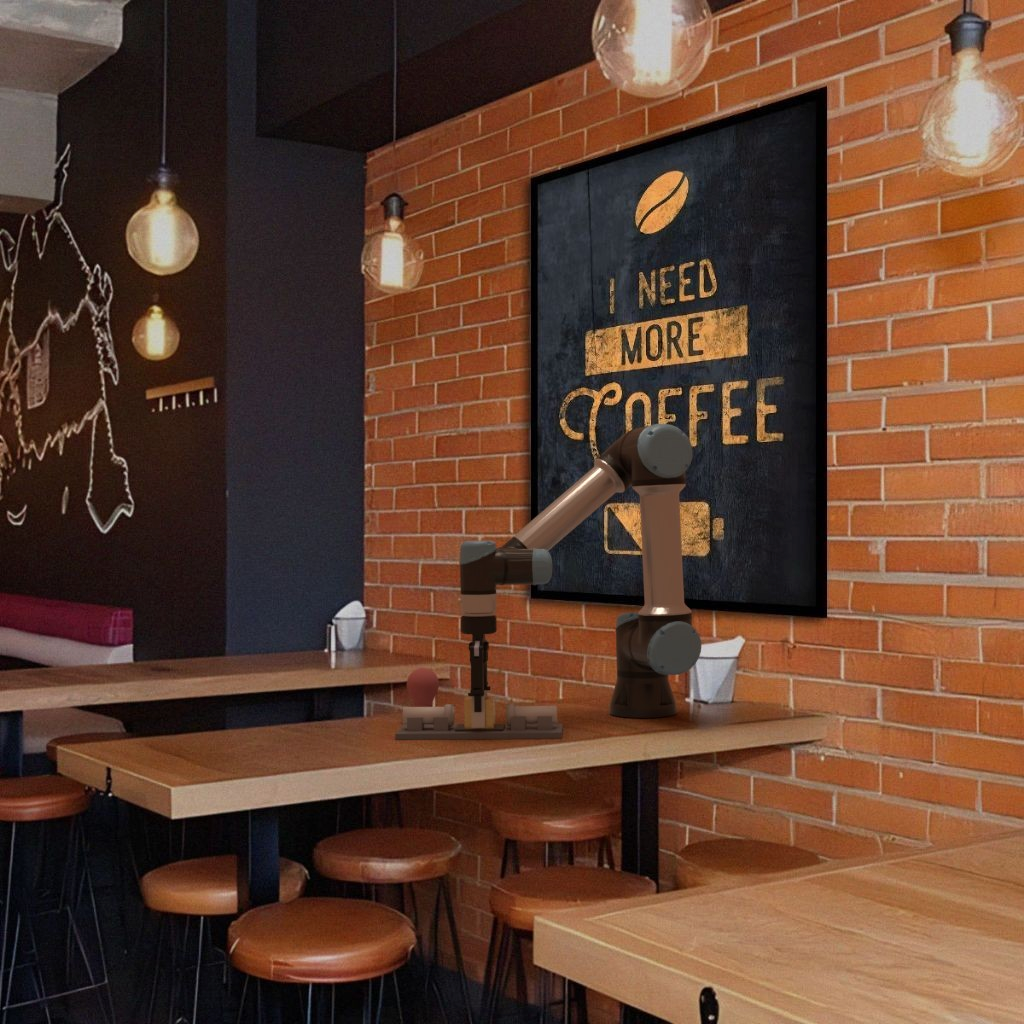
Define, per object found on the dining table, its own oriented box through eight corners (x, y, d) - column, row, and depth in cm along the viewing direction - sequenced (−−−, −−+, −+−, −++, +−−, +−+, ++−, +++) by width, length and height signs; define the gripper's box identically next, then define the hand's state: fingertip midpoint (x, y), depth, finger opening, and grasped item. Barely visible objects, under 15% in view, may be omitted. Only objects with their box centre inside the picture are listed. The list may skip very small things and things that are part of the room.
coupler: (466, 724, 280) (466, 696, 280) (495, 724, 280) (494, 696, 280) (464, 728, 275) (464, 699, 275) (493, 728, 275) (493, 699, 275)
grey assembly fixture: (562, 729, 283) (562, 699, 283) (561, 738, 271) (561, 707, 271) (403, 730, 285) (402, 700, 285) (395, 739, 273) (394, 708, 273)
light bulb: (441, 719, 299) (440, 666, 299) (436, 724, 292) (435, 669, 292) (410, 719, 299) (409, 666, 299) (404, 724, 292) (403, 670, 292)
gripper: (464, 611, 288) (466, 717, 288) (456, 618, 268) (457, 732, 268) (499, 611, 287) (500, 717, 287) (493, 617, 268) (494, 732, 268)
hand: (479, 724), depth 278 cm, fingers open, 7 cm apart
